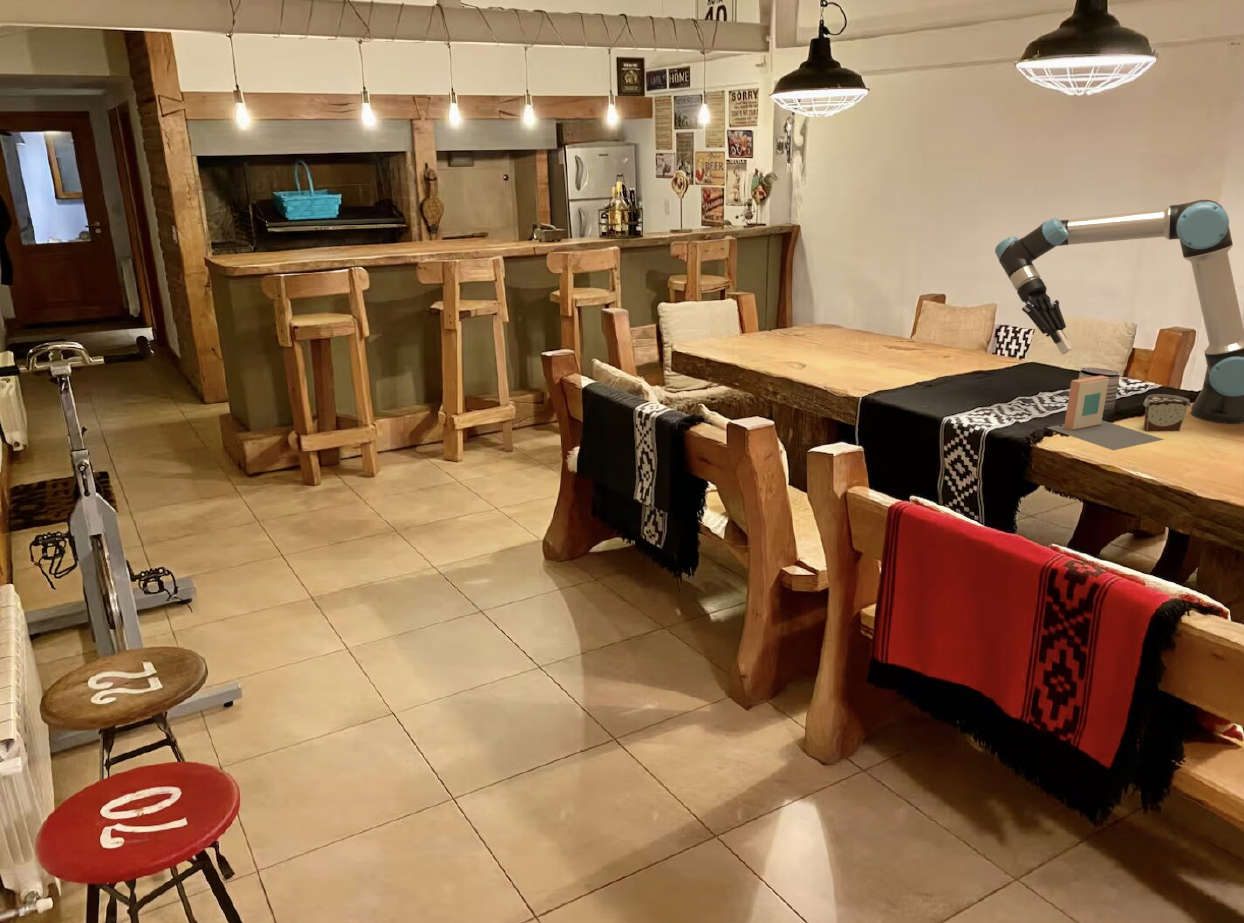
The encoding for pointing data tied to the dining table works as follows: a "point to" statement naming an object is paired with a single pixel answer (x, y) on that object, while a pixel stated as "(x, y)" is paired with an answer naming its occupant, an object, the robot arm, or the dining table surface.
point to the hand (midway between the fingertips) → (1066, 351)
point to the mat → (1108, 435)
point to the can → (1112, 383)
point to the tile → (1086, 402)
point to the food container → (1164, 412)
